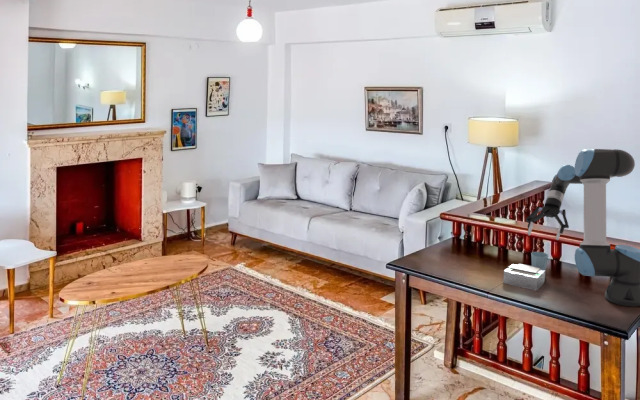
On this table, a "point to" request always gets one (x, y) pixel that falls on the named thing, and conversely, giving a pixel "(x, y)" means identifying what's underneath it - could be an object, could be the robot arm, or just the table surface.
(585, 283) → the table surface
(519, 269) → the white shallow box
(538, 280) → the white rectangular box
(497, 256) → the table surface
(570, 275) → the table surface
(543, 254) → the cup
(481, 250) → the table surface
